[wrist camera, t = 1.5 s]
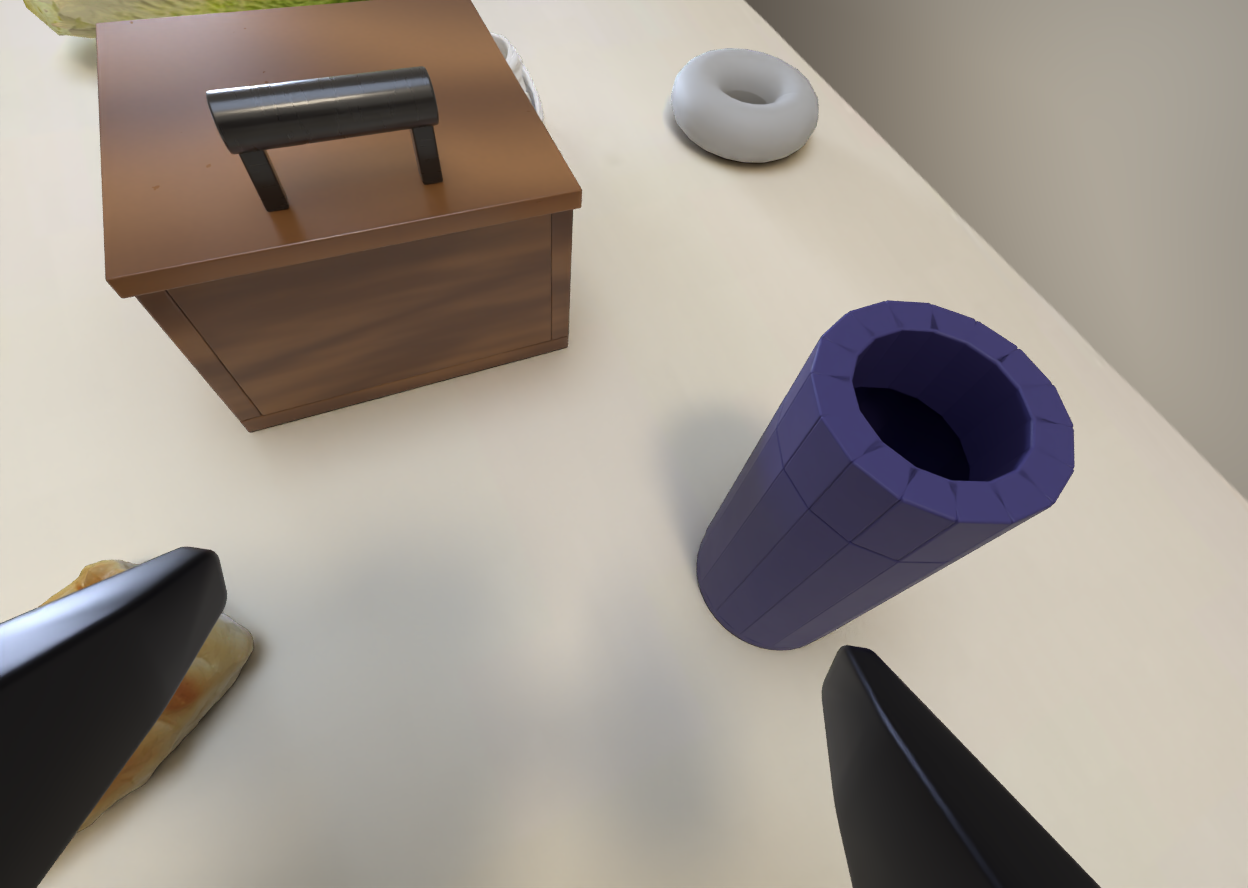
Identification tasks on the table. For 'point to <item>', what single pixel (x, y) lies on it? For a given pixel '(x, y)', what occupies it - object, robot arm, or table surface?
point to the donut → (744, 105)
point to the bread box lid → (309, 138)
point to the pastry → (190, 700)
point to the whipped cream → (519, 71)
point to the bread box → (374, 319)
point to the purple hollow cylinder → (882, 472)
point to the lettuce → (141, 10)
